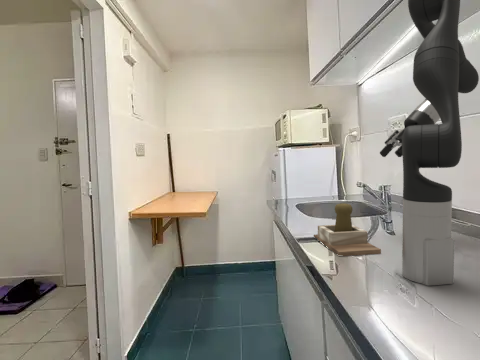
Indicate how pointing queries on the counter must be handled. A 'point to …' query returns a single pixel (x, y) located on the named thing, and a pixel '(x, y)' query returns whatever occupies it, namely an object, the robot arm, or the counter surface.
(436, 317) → the counter surface
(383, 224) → the counter surface
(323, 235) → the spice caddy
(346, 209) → the cork
